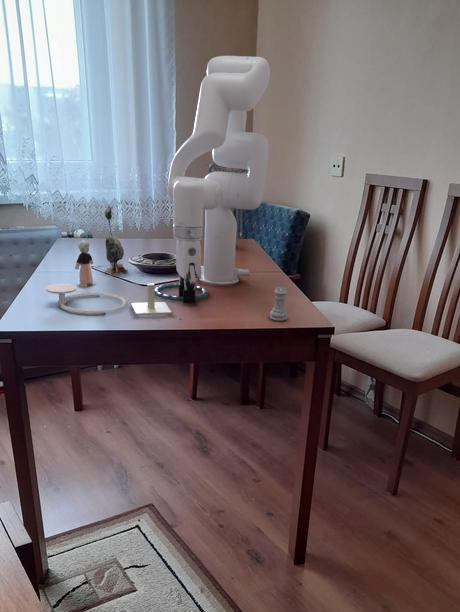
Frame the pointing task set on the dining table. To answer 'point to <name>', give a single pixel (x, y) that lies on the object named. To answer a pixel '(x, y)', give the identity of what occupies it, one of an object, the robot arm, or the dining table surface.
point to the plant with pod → (114, 251)
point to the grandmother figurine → (84, 264)
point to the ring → (157, 293)
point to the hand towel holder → (70, 288)
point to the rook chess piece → (279, 305)
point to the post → (151, 304)
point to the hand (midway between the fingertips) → (186, 301)
